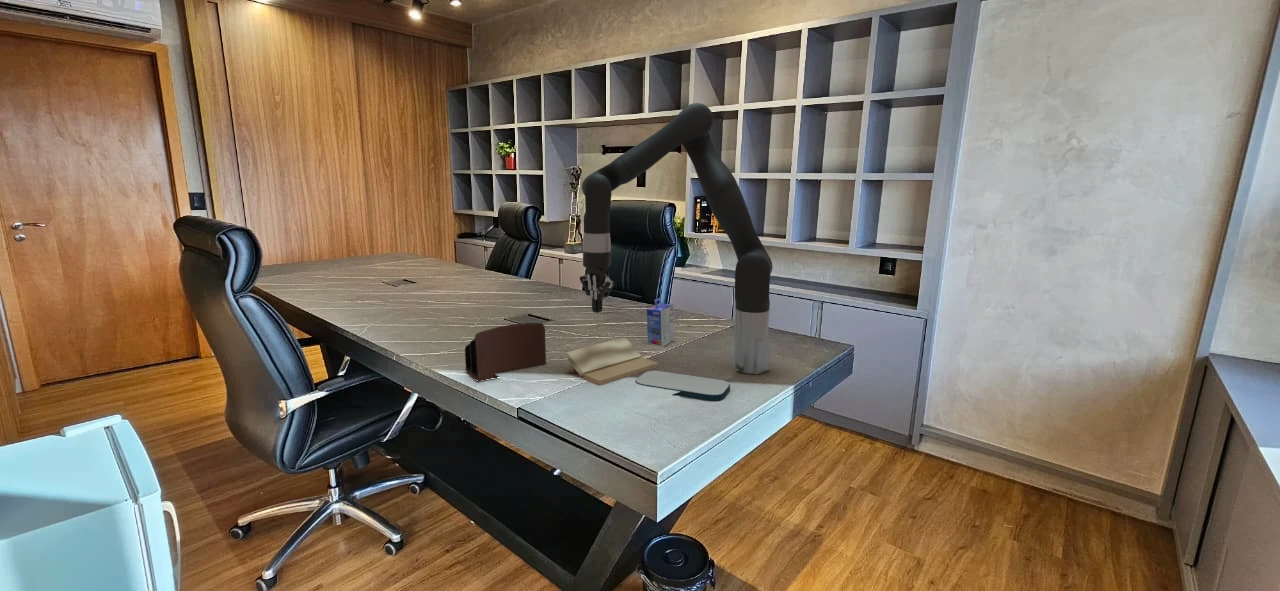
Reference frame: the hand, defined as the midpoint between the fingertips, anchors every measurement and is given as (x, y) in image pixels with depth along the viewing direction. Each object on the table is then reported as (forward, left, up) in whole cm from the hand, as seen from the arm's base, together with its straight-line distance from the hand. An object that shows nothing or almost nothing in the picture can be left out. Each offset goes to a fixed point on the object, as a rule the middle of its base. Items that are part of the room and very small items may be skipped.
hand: (597, 311), depth 159 cm
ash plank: (-3, 0, -13) cm, 13 cm away
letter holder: (+16, +20, -17) cm, 30 cm away
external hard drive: (-27, -6, -17) cm, 32 cm away
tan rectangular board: (-6, 0, -16) cm, 17 cm away
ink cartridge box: (+5, -31, -17) cm, 35 cm away
